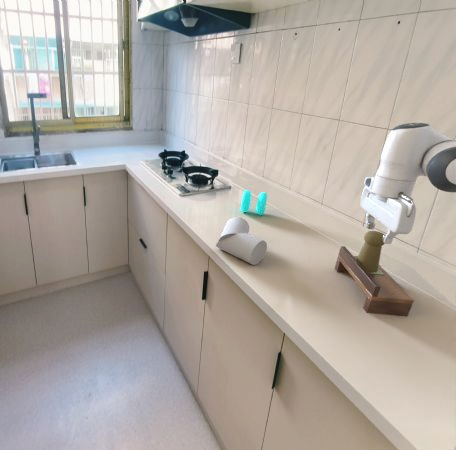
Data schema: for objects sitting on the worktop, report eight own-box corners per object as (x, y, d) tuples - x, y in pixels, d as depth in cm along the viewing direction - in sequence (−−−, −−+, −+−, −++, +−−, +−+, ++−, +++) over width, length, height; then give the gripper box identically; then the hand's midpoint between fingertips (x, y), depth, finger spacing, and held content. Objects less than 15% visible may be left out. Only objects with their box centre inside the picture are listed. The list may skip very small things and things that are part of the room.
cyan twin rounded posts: (241, 207, 154) (244, 186, 150) (264, 211, 151) (268, 189, 147) (239, 215, 146) (242, 193, 142) (263, 219, 143) (267, 196, 139)
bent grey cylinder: (198, 243, 117) (245, 267, 103) (205, 214, 114) (254, 234, 100) (228, 240, 129) (274, 261, 115) (236, 213, 126) (284, 232, 112)
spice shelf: (367, 271, 106) (374, 248, 103) (407, 316, 86) (418, 290, 83) (334, 268, 107) (340, 246, 104) (366, 312, 87) (375, 286, 84)
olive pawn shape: (357, 270, 96) (368, 235, 91) (351, 260, 101) (361, 227, 97) (380, 274, 95) (393, 238, 90) (373, 263, 100) (385, 229, 96)
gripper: (430, 201, 78) (411, 253, 84) (385, 177, 97) (372, 221, 103) (401, 199, 79) (384, 251, 85) (362, 176, 98) (350, 220, 103)
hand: (377, 235), depth 94 cm, fingers open, 8 cm apart
